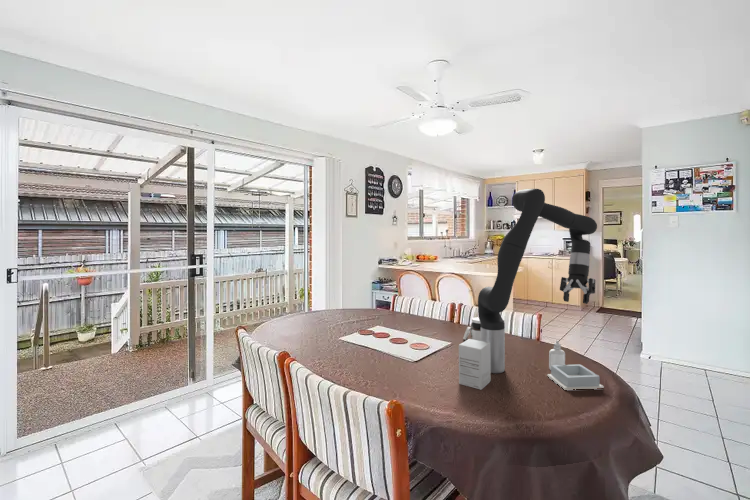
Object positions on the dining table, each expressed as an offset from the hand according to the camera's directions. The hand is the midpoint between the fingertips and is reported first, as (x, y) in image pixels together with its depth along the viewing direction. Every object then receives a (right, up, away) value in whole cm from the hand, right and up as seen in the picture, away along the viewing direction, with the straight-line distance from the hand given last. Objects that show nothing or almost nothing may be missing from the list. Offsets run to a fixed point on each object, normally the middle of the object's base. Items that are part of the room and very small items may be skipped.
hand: (575, 302), depth 155 cm
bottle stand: (-11, -27, -19) cm, 35 cm away
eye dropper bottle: (-11, -26, -7) cm, 29 cm away
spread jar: (-34, -24, +31) cm, 52 cm away
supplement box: (-47, -28, -18) cm, 57 cm away
